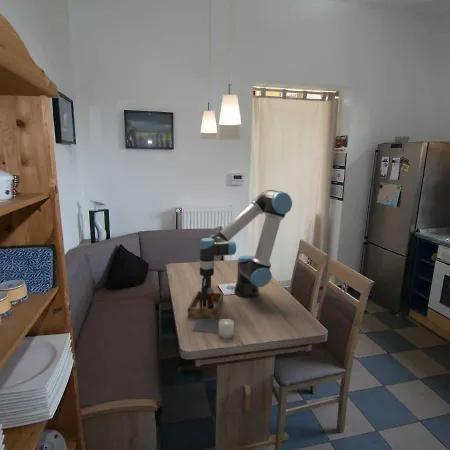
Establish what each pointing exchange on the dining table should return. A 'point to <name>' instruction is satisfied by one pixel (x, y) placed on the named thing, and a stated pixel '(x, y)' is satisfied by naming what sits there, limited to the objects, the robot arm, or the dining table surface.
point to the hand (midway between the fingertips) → (206, 307)
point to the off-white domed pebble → (226, 328)
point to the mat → (207, 325)
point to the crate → (204, 312)
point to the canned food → (209, 296)
